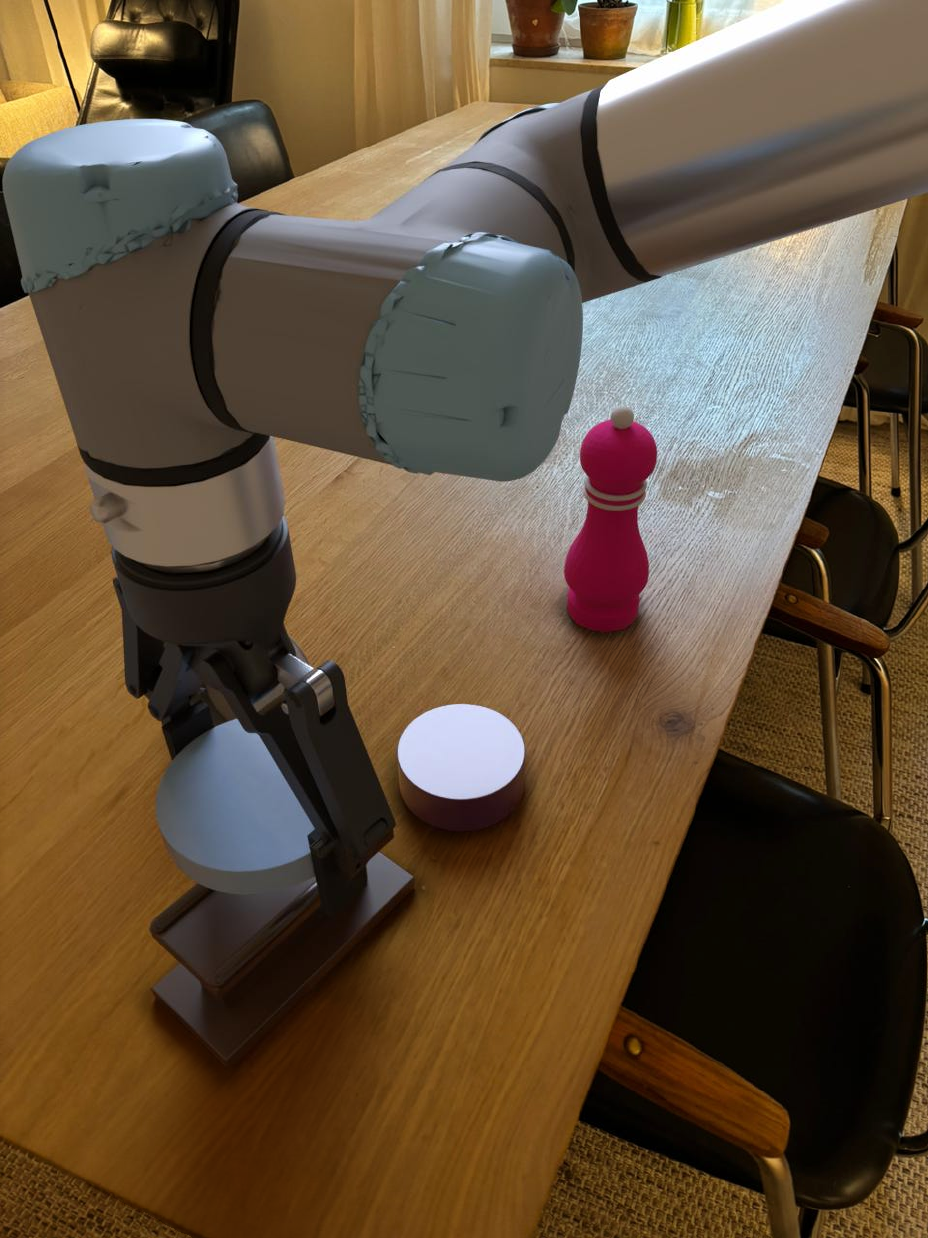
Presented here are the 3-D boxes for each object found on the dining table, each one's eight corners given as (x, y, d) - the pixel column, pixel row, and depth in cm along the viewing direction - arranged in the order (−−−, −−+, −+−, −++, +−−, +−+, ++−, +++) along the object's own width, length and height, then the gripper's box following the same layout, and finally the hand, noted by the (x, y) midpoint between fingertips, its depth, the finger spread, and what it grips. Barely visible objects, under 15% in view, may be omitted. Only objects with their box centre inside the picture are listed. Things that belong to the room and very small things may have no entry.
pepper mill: (544, 608, 88) (555, 406, 75) (598, 574, 92) (617, 375, 79) (606, 648, 84) (629, 441, 71) (660, 610, 88) (691, 407, 75)
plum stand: (548, 774, 74) (551, 742, 71) (469, 854, 68) (469, 822, 66) (454, 717, 78) (453, 685, 76) (373, 788, 73) (370, 756, 71)
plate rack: (415, 887, 66) (410, 816, 61) (229, 1071, 57) (205, 1005, 52) (341, 833, 70) (331, 762, 65) (154, 998, 60) (126, 930, 56)
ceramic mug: (324, 703, 79) (312, 630, 75) (259, 770, 74) (241, 696, 69) (223, 659, 84) (205, 588, 79) (154, 721, 78) (131, 648, 73)
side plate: (405, 798, 55) (403, 774, 54) (254, 934, 49) (248, 911, 47) (272, 709, 61) (268, 685, 59) (121, 821, 54) (112, 797, 53)
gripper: (-26, 472, 46) (96, 782, 60) (325, 694, 34) (375, 1014, 49) (110, 410, 50) (195, 713, 65) (464, 589, 39) (472, 910, 53)
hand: (272, 842), depth 57 cm, fingers closed on side plate, 11 cm apart
